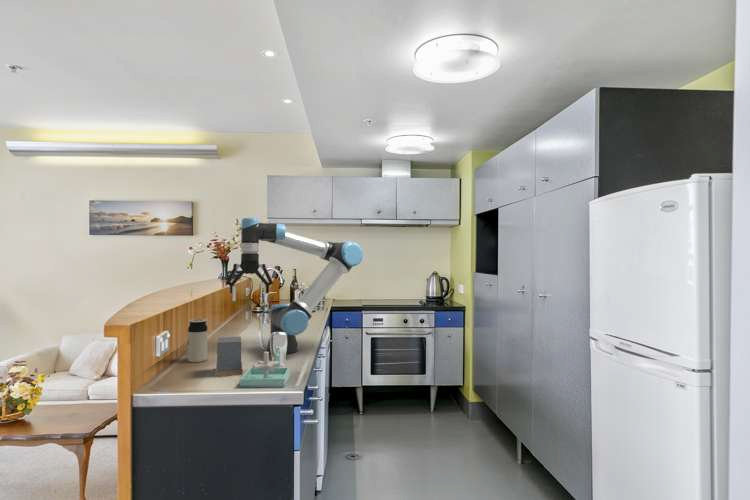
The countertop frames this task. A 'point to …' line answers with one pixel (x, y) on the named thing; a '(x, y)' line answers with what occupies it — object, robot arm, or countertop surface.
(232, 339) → the mounted unit
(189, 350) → the travel mug
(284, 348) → the beer glass
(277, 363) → the pipe connector
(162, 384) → the countertop surface
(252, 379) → the tray
